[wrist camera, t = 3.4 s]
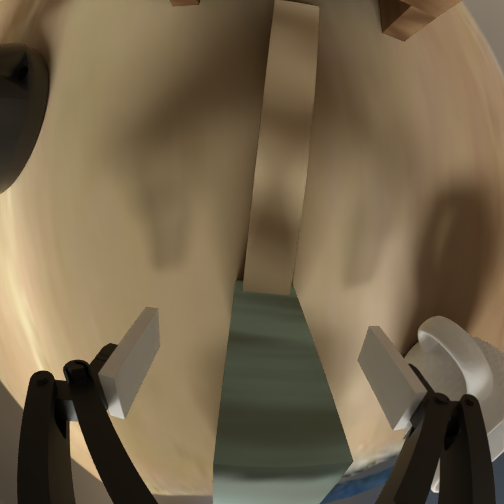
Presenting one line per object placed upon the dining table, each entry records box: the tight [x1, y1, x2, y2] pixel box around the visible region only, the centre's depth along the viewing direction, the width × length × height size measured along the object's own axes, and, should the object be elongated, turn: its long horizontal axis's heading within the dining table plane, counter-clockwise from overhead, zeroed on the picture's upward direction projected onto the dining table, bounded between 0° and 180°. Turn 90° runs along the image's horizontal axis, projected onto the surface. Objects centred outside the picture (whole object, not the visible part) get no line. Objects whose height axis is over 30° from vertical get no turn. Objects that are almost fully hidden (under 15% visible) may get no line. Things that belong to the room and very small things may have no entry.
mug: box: [404, 316, 504, 493], centre depth 15 cm, size 15×11×13 cm
